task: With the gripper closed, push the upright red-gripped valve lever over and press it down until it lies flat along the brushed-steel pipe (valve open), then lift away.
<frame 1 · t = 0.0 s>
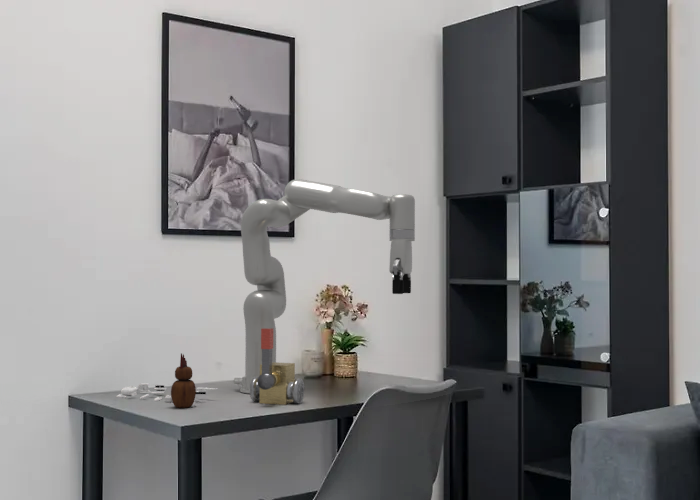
hand: (401, 293, 266), 31 cm above the table, fingers open, 9 cm apart
miniature set: (160, 400, 263), on the table
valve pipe: (277, 402, 256), on the table
wooden figurine: (183, 407, 246), on the table
lever: (267, 358, 249), point 13 cm above the table, hinge at 0.0°
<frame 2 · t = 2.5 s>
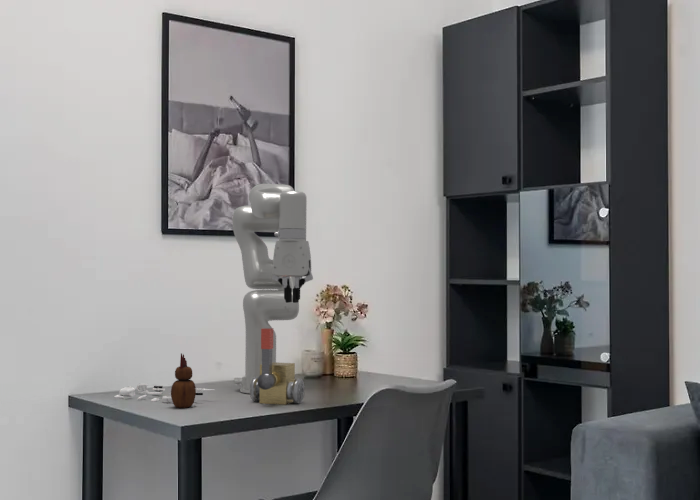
hand: (292, 302, 247), 29 cm above the table, fingers closed
miniature set: (157, 401, 262), on the table
everything else where it was.
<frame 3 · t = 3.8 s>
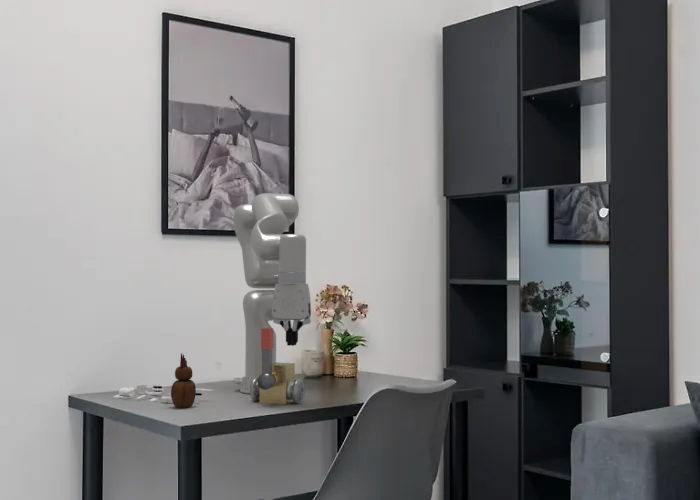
hand: (291, 345, 247), 17 cm above the table, fingers closed
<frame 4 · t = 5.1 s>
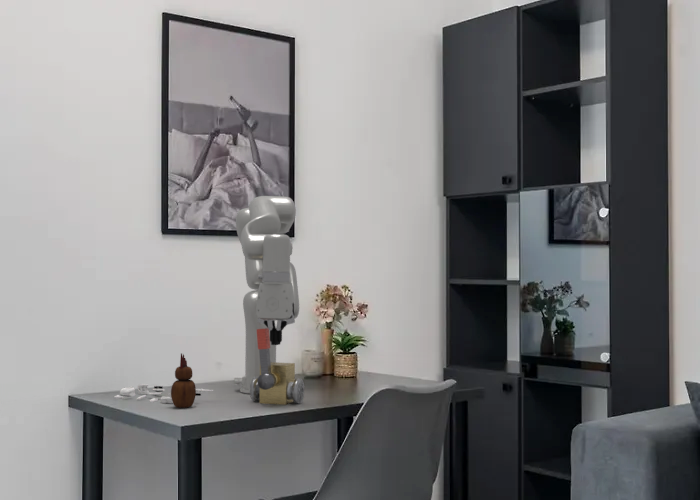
hand: (275, 344, 249), 17 cm above the table, fingers closed
lever: (265, 358, 249), point 13 cm above the table, hinge at 5.6°, touching gripper
everything else where it was.
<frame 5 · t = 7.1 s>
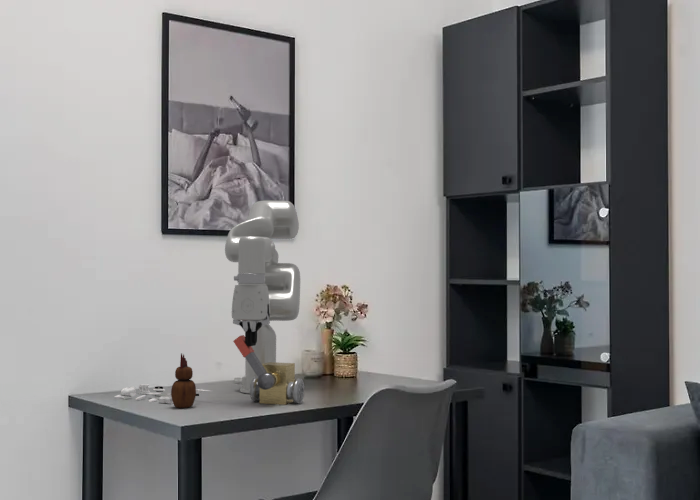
hand: (251, 345, 251), 17 cm above the table, fingers closed
lever: (254, 362, 250), point 12 cm above the table, hinge at 36.7°, touching gripper
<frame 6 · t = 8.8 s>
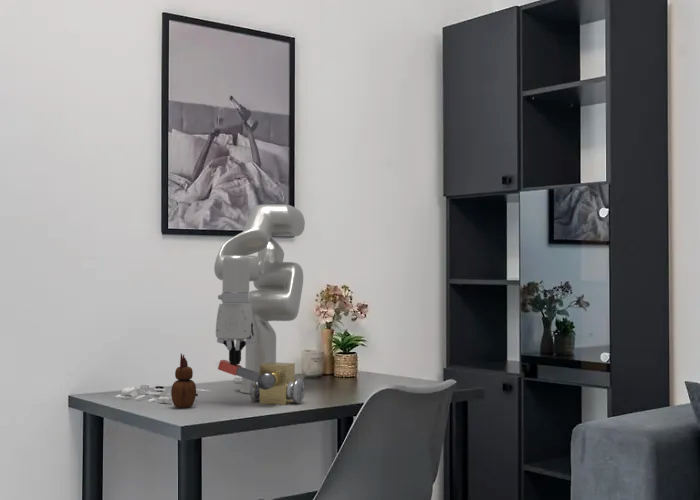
hand: (234, 364, 252), 11 cm above the table, fingers closed
miniature set: (156, 401, 261), on the table, touching wooden figurine
wooden figurine: (183, 408, 246), on the table, touching miniature set
lever: (247, 373, 251), point 9 cm above the table, hinge at 73.7°, touching gripper
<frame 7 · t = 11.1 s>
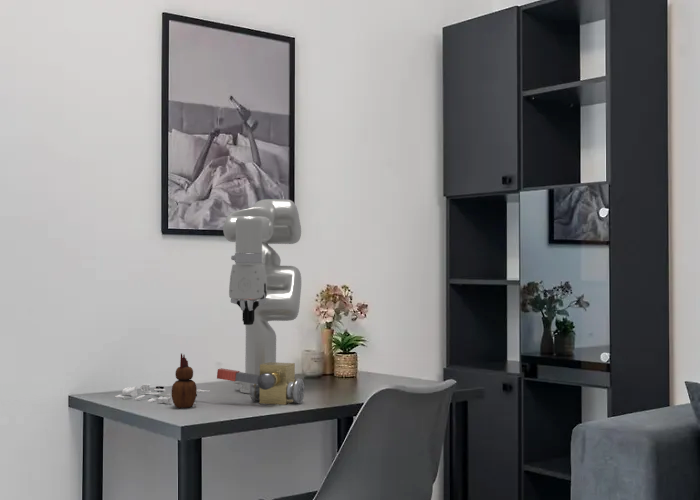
hand: (248, 324, 253), 23 cm above the table, fingers closed
miniature set: (156, 401, 261), on the table
wooden figurine: (184, 408, 246), on the table
lever: (246, 377, 251), point 8 cm above the table, hinge at 83.8°
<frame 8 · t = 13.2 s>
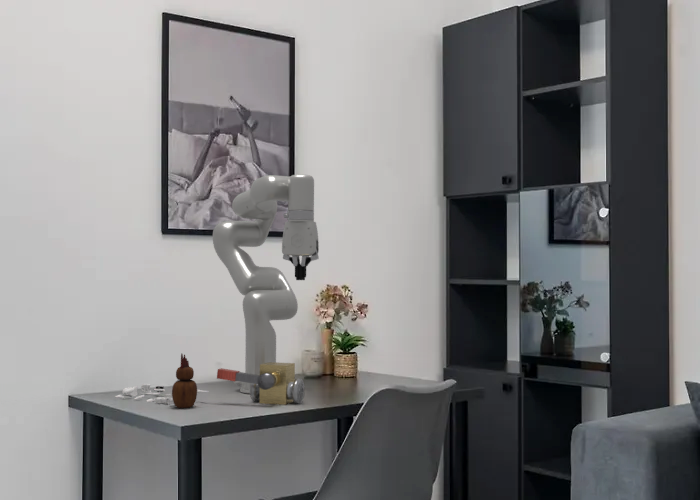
hand: (300, 279, 261), 35 cm above the table, fingers closed
nothing on the table moved.
at the end: lever at +84° (first picture: +0°) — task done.
